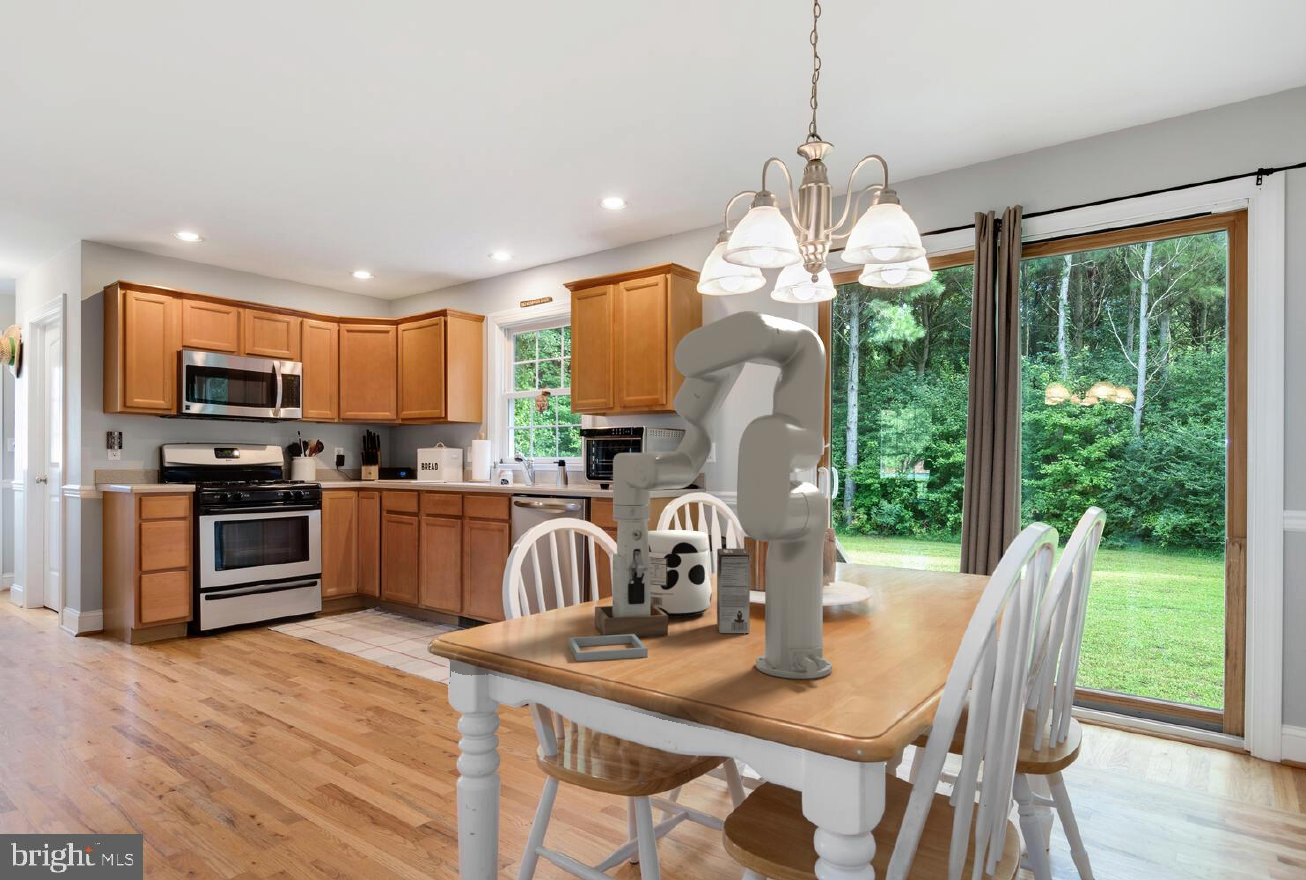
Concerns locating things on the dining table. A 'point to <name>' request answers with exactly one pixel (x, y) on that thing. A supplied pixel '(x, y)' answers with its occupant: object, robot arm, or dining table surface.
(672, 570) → the milk container
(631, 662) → the dining table surface
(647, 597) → the small box
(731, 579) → the coffee box
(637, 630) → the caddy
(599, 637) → the tray
